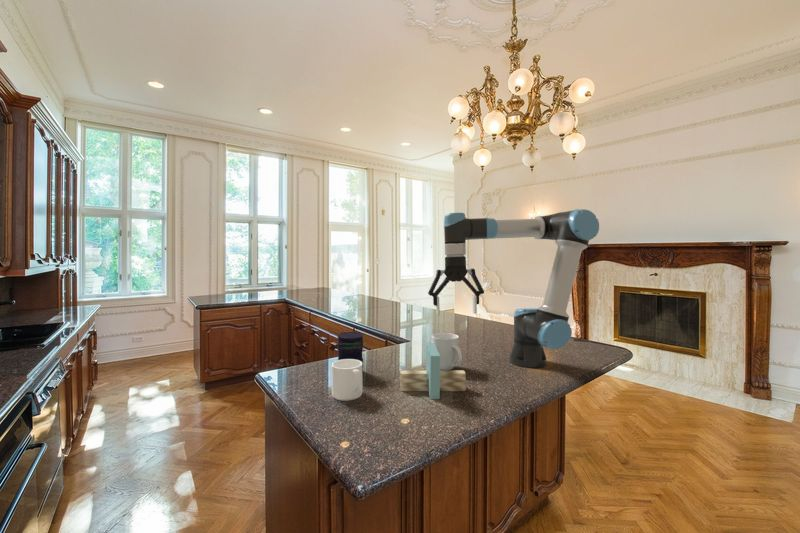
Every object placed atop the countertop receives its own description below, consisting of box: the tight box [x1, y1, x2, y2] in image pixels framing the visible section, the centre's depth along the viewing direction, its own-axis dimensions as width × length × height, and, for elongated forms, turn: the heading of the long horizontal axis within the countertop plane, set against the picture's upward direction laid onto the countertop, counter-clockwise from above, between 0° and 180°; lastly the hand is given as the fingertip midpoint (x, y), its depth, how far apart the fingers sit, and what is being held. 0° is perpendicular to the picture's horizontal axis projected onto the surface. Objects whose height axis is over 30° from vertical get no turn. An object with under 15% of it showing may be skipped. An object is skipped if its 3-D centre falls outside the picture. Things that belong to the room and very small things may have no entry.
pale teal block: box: [425, 342, 441, 400], centre depth 120 cm, size 16×3×14 cm, turn 1°
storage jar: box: [336, 331, 364, 375], centre depth 136 cm, size 10×10×15 cm
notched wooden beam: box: [399, 369, 467, 392], centre depth 121 cm, size 22×3×6 cm, turn 91°
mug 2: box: [430, 332, 463, 371], centre depth 141 cm, size 15×11×13 cm
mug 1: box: [331, 359, 363, 402], centre depth 115 cm, size 13×10×10 cm
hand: (456, 313), depth 129 cm, fingers open, 13 cm apart
